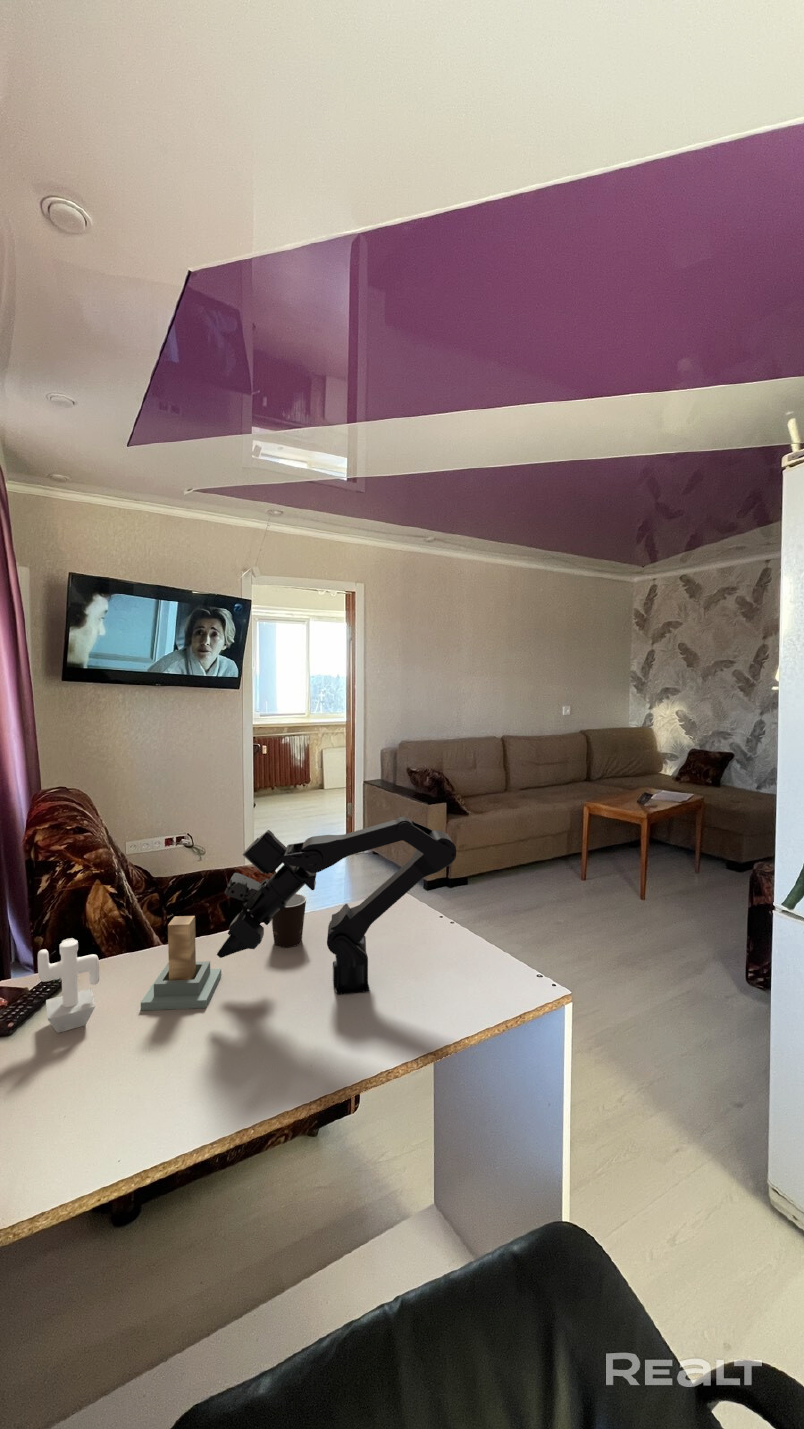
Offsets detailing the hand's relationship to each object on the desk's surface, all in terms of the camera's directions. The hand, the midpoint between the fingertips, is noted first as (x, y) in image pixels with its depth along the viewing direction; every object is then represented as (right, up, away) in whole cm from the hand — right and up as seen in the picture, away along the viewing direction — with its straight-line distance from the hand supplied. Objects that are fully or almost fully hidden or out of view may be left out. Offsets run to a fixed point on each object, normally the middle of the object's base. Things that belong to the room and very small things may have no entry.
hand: (224, 944), depth 114 cm
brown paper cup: (+9, -8, +24) cm, 26 cm away
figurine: (-24, -10, -10) cm, 28 cm away
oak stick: (-8, -8, 0) cm, 11 cm away
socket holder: (-8, -9, 0) cm, 12 cm away
